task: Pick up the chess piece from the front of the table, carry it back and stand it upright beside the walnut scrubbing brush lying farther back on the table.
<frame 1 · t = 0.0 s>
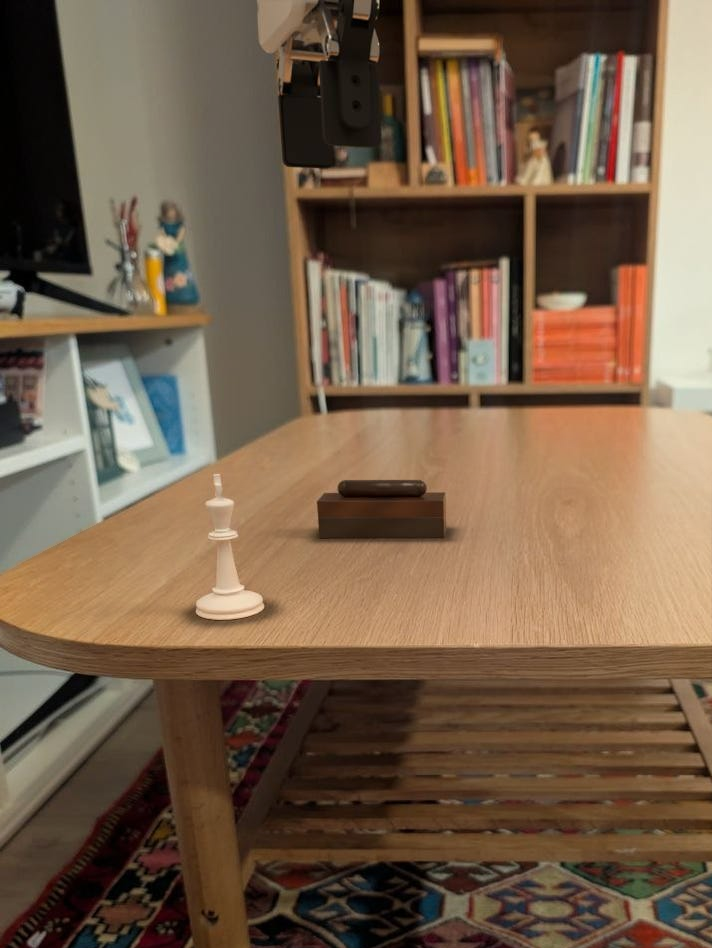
hand: (328, 157, 57), 30 cm above the table, tool pointing down, fingers open, 9 cm apart
brush: (384, 533, 92), on the table
chess piece: (230, 612, 70), on the table
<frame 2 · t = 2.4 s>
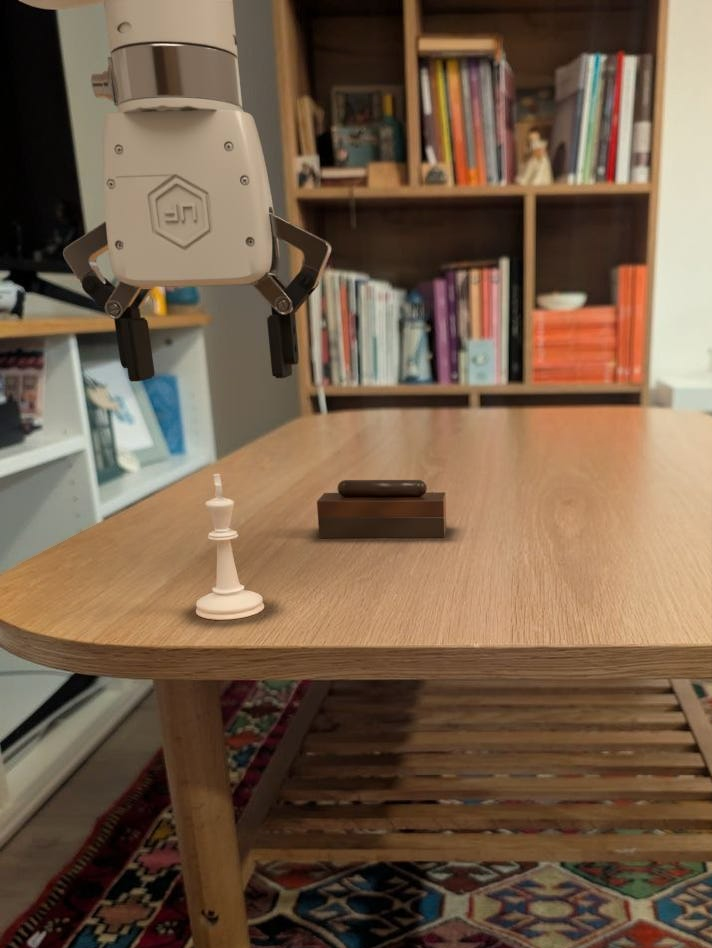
hand: (212, 378, 64), 17 cm above the table, tool pointing down, fingers open, 9 cm apart
nothing on the table moved.
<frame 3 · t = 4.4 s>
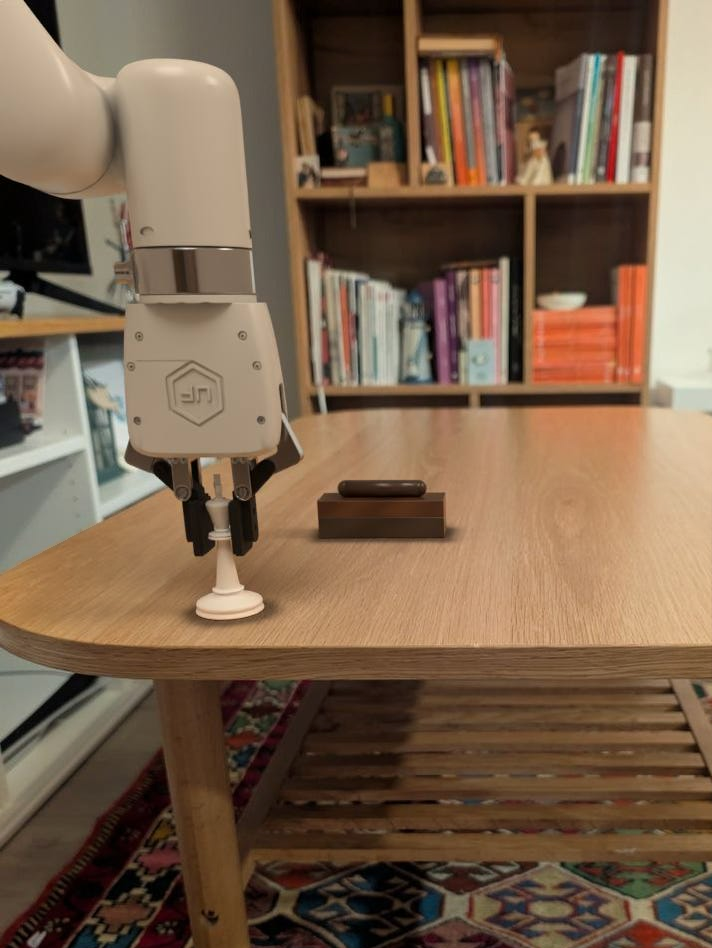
hand: (224, 549, 68), 5 cm above the table, tool pointing down, fingers closed on chess piece
chess piece: (230, 612, 70), on the table, touching gripper
everything else where it was.
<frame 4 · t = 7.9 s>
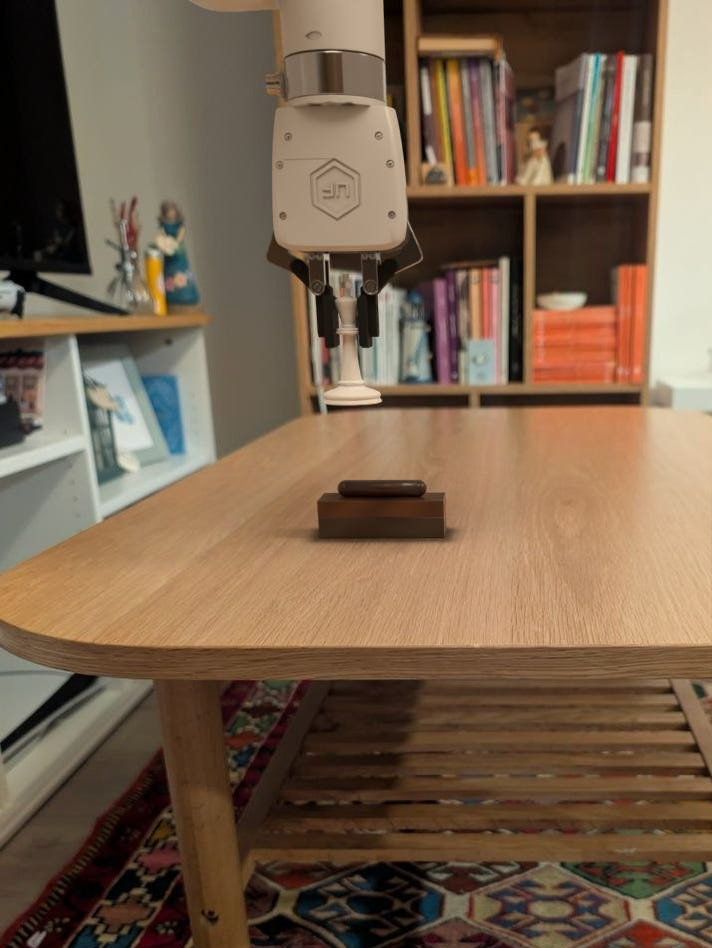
hand: (349, 345, 77), 18 cm above the table, tool pointing down, fingers closed on chess piece
chess piece: (352, 404, 79), point 13 cm above the table, touching gripper
everything else where it was.
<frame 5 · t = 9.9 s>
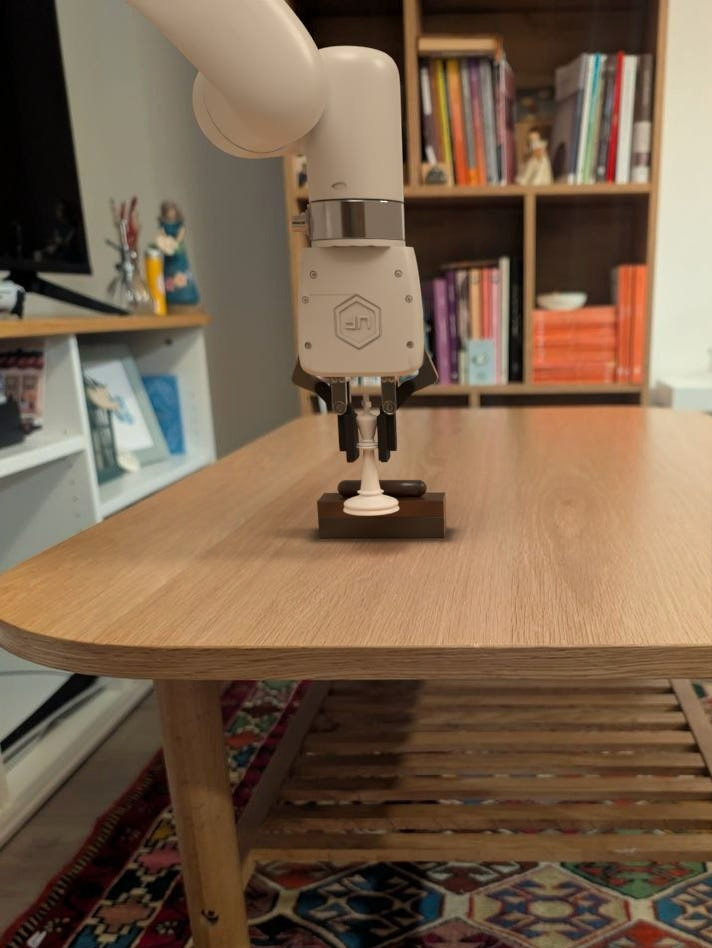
hand: (369, 458, 82), 9 cm above the table, tool pointing down, fingers closed on chess piece
chess piece: (371, 512, 83), point 4 cm above the table, touching gripper
everything else where it was.
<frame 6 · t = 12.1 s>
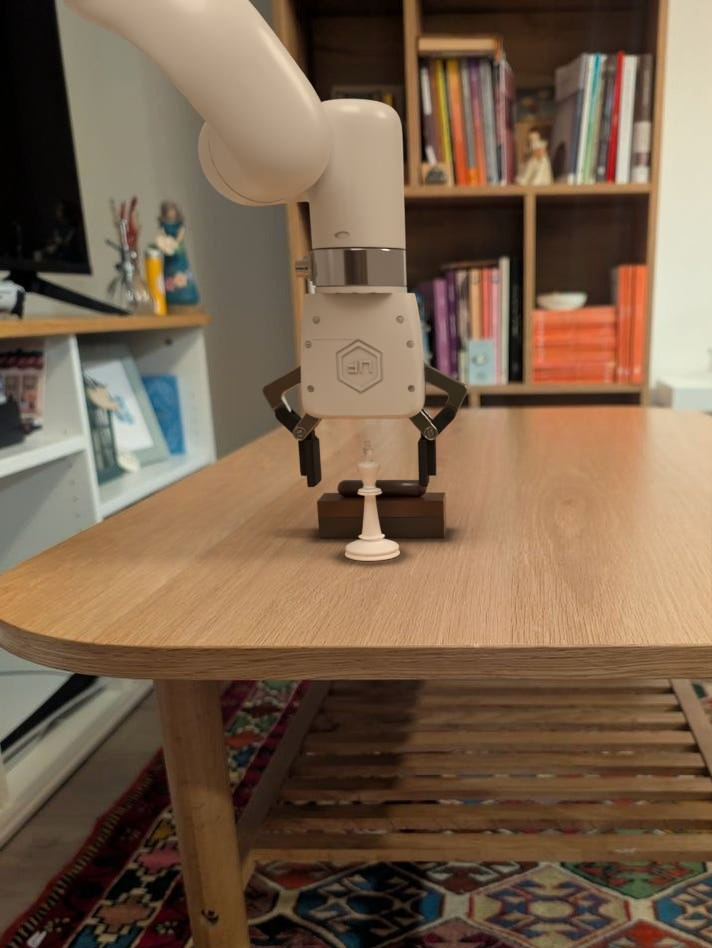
hand: (369, 484, 83), 6 cm above the table, tool pointing down, fingers open, 9 cm apart
chess piece: (372, 556, 85), on the table
everything else where it was.
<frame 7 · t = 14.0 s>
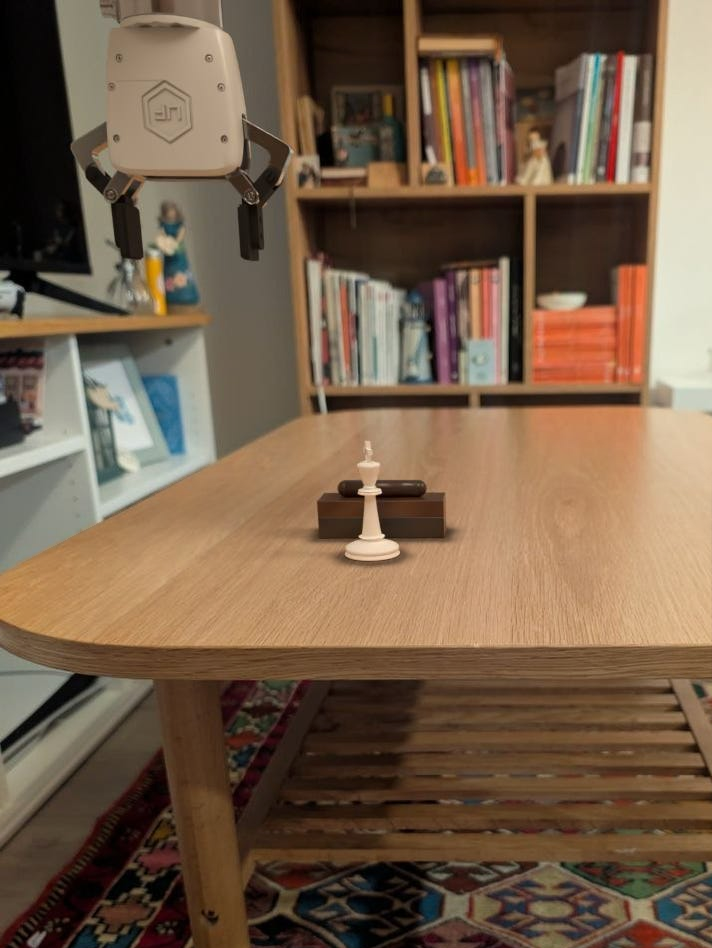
hand: (191, 259, 77), 25 cm above the table, tool pointing down, fingers open, 9 cm apart
nothing on the table moved.
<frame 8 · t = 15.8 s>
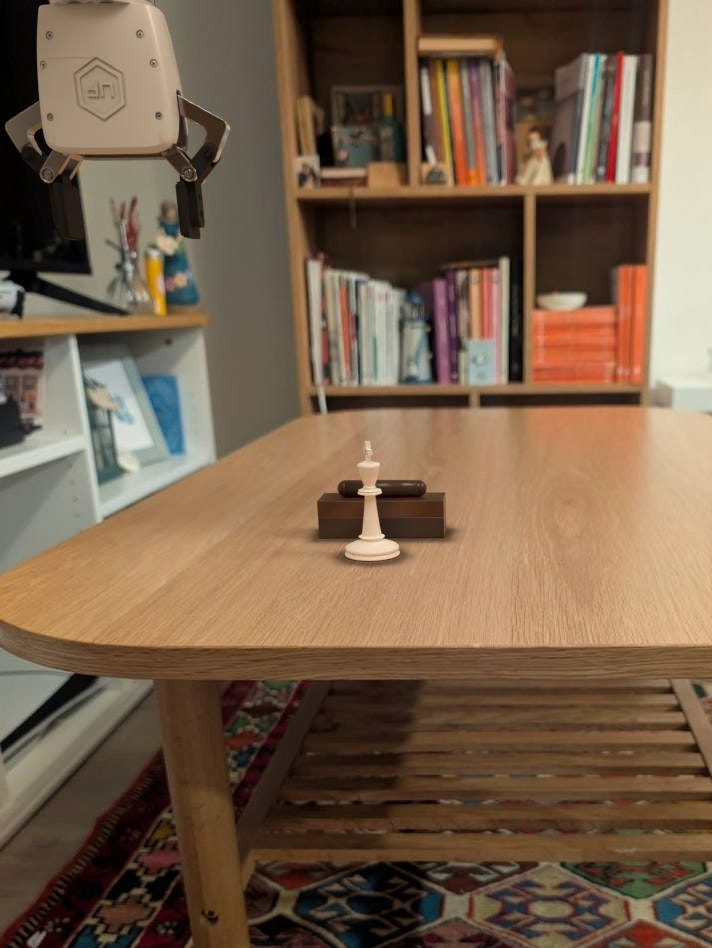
hand: (131, 238, 77), 26 cm above the table, tool pointing down, fingers open, 9 cm apart
nothing on the table moved.
at the end: chess piece inside the target area on the table beside the brush (0.0 cm from its centre), on the table; chess piece tilted 0°; the gripper is holding nothing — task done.
